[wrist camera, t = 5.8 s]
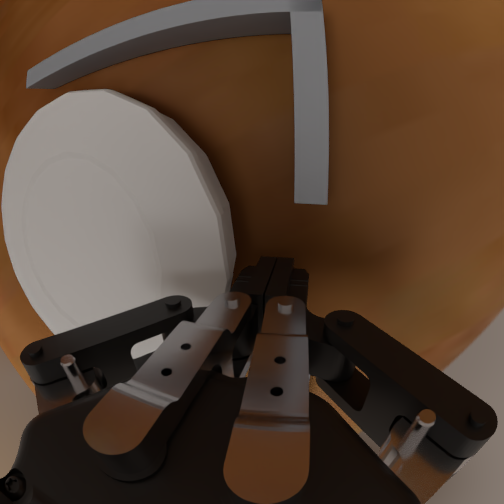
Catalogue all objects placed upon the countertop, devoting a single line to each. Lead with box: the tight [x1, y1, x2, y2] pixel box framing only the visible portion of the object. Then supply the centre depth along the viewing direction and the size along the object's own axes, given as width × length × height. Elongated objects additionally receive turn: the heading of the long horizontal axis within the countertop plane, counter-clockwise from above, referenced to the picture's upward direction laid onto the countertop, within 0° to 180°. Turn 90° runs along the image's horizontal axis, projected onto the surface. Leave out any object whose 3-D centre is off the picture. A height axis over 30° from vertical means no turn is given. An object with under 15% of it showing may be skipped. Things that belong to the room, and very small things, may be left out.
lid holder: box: [26, 0, 329, 379], centre depth 14 cm, size 25×16×2 cm, turn 1°
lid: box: [1, 89, 236, 359], centre depth 15 cm, size 17×20×3 cm
